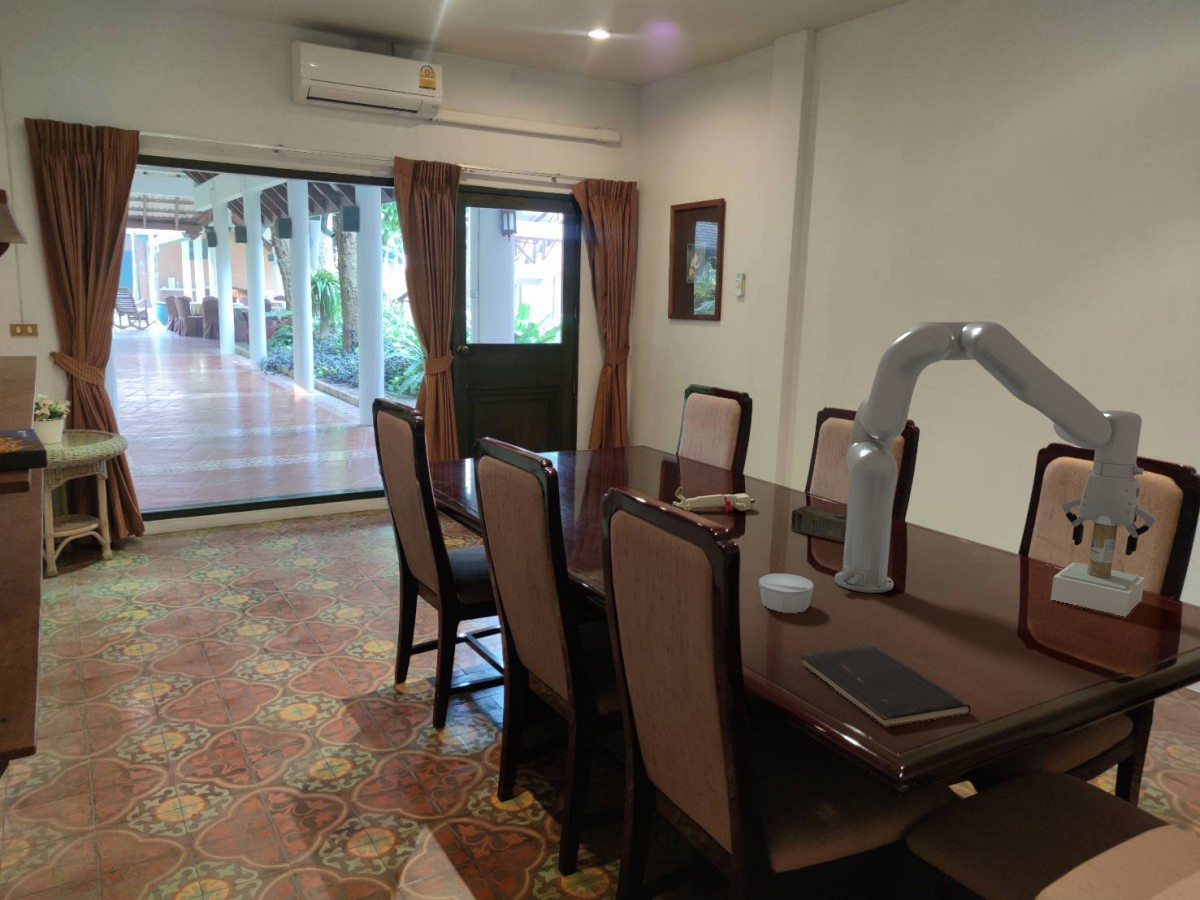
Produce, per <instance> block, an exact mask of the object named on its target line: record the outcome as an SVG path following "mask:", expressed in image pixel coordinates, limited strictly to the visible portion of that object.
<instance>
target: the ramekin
mask: <svg viewBox="0 0 1200 900" xmlns="http://www.w3.org/2000/svg"><path fill="white" fill-rule="evenodd" d="M814 585H815V584H814V583H813V581H811V579H808V578H807V577H804V576H800V575H797V574H791V573H777V572H776V573H769V574H766V575H763V576H761V577H760V578H759V579H758V586H759V590H760V592H759V593H760V599H761V600H760V601H761V603H762V605H763V607H765V606H766V607H767V608H766V607H765V608H766V609H768V608H769V609H772V610H775V611H779V612H783V613H782V614H787V613H794V614H799V613H798V612H801V613H803V612H805V611H806V610H807V609H808V608H809V607H810V605H811V604H810V603H811V598H812V595H813V591H814V589H815V586H814ZM769 609H768V610H769ZM772 610H771V611H772ZM775 611H774V612H775ZM779 612H778V613H779Z"/></svg>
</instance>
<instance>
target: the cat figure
mask: <svg viewBox="0 0 1200 900" xmlns="http://www.w3.org/2000/svg"><path fill="white" fill-rule="evenodd" d="M684 491H685V490H684V487H682V486H678V488H677V489H676V490H675V493H674V496H675V497H677V499H679V500H681V501H680V502H677V501H673V502H672V506H673V505H676V506H679V507H681V508H683V509H686V510H690V509H691V508H692V507H693V508H696V507H701V508H708V507H716V506H717V507H718V506H719V507H725V508H724V509H725V511H726V513H728V512H729V511H730V510H732V508H733V507H734V508H735V509H737V510H738V511H741V512H745V511H747V510H751V509H752V510H753V509H754V507H756V506H757V504H756V503H755V502H756V500H755V499H754V498H752V497H750V495H748V494H746V493H745V492H743V493H735V494H729V493H728V494H721V490H718V492H717V493H716V494H711V495H702V496H696V497H691V498H686V497H684V496H683V495H682V493H683V492H684ZM687 508H688V509H687ZM725 511H724V512H725Z"/></svg>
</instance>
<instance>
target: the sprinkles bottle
mask: <svg viewBox="0 0 1200 900" xmlns="http://www.w3.org/2000/svg"><path fill="white" fill-rule="evenodd" d="M1118 527H1119V526H1117V525H1113V524H1111V521H1110V518H1109V517H1105V516H1099V518H1098V520H1097V521H1095V522H1094V521H1093V532H1092V537H1091V541H1090V542H1091V543H1090V550H1089V555H1088V557H1089V558H1088V564H1087V565H1088V569H1087V573H1088V574H1090V575H1092V576H1096V577H1110V576H1111V570H1112V567H1113V562H1114V555H1115V548H1116V543H1117V530H1118Z"/></svg>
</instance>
